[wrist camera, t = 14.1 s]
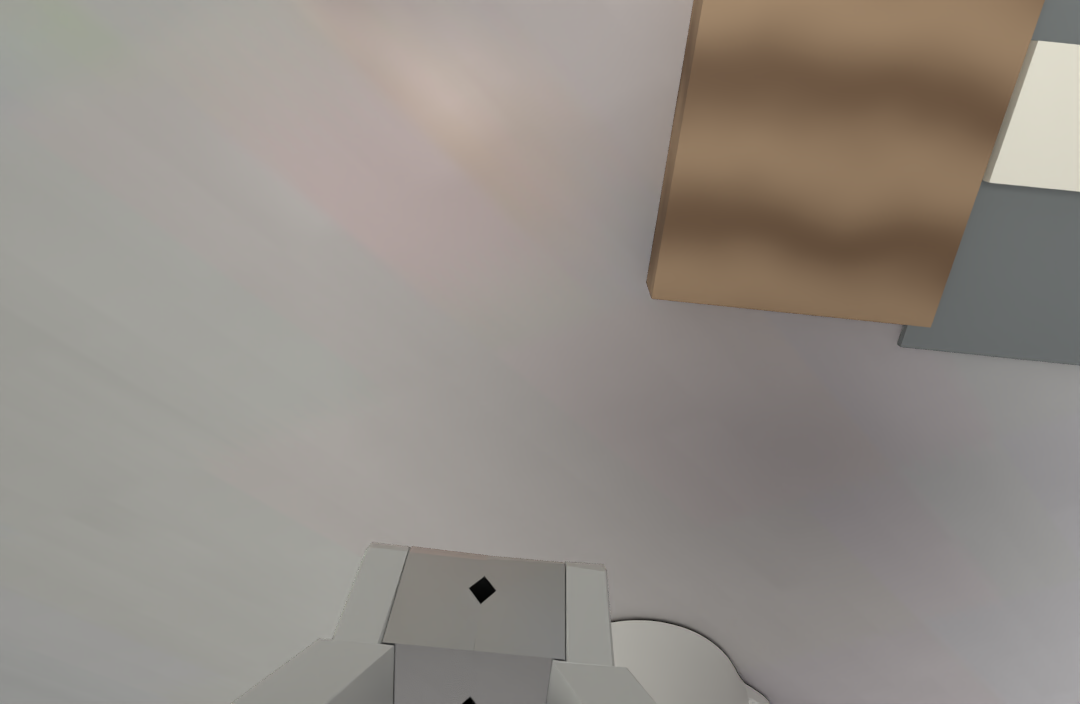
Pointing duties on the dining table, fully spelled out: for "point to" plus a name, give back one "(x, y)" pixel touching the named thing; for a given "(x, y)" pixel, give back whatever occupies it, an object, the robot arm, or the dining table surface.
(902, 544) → the dining table surface
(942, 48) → the wooden board
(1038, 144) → the white flat block
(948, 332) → the mat
